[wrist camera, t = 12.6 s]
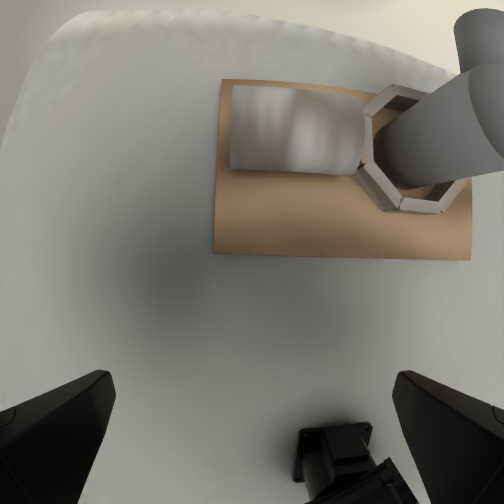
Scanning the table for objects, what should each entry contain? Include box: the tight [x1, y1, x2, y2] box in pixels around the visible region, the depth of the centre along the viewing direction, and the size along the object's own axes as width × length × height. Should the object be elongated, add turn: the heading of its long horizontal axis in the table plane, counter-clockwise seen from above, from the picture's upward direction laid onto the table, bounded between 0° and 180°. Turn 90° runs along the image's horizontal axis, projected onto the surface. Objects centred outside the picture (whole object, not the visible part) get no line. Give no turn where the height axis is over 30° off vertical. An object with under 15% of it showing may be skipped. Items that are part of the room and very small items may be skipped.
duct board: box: [214, 79, 472, 260], centre depth 18 cm, size 12×20×6 cm, turn 88°
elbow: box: [373, 8, 504, 190], centre depth 13 cm, size 7×5×14 cm
